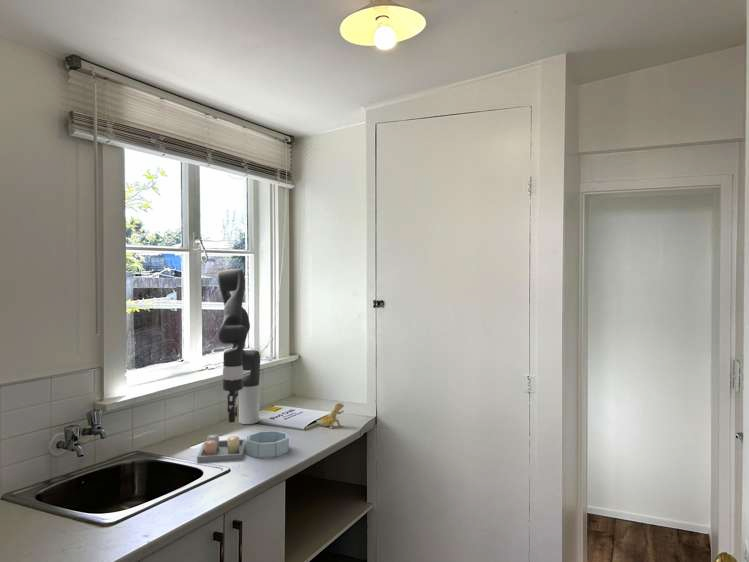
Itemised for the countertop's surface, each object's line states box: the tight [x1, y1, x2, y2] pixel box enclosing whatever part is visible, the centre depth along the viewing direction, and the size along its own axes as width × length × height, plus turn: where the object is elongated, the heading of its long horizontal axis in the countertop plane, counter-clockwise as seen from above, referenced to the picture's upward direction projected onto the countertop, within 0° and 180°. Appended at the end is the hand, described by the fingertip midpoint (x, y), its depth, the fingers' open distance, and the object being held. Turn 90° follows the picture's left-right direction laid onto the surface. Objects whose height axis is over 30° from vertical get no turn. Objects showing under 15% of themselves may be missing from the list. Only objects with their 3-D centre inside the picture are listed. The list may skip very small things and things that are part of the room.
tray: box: [196, 438, 247, 463], centre depth 203 cm, size 18×16×2 cm
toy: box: [316, 402, 345, 430], centre depth 238 cm, size 7×15×10 cm, turn 74°
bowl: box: [245, 429, 290, 459], centre depth 206 cm, size 16×16×6 cm
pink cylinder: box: [206, 434, 220, 451], centre depth 206 cm, size 4×4×6 cm
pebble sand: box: [226, 435, 240, 454], centre depth 204 cm, size 4×4×6 cm
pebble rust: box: [203, 440, 217, 456], centre depth 199 cm, size 4×4×6 cm
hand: (232, 419), depth 203 cm, fingers open, 8 cm apart
